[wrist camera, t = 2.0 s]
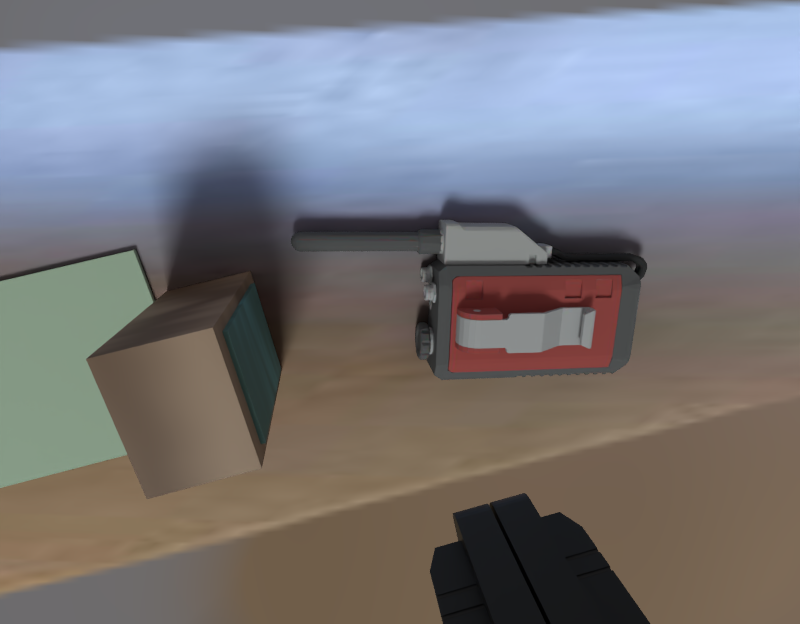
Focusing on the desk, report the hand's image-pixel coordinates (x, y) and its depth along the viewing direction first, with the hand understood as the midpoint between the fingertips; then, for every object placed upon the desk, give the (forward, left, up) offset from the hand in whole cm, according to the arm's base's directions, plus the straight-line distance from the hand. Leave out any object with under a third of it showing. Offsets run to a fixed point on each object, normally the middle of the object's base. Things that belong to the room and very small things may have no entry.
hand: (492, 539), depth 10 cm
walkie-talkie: (-5, +1, -21) cm, 21 cm away
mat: (+18, 0, -20) cm, 27 cm away
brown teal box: (+9, 0, -20) cm, 22 cm away
